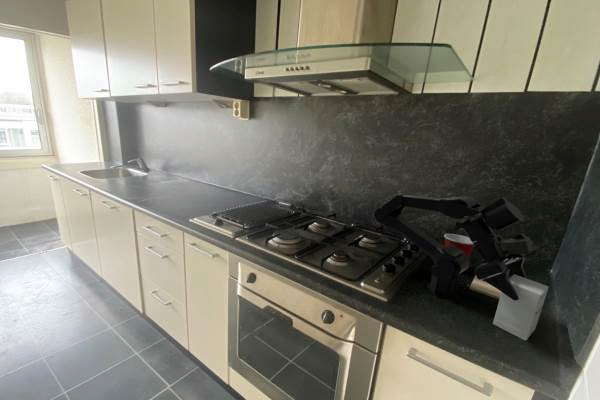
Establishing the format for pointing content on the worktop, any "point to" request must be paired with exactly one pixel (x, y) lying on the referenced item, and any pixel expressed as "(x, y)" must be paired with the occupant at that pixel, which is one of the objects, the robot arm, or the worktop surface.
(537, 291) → the supplement box
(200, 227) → the worktop surface
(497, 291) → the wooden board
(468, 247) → the plastic cup
